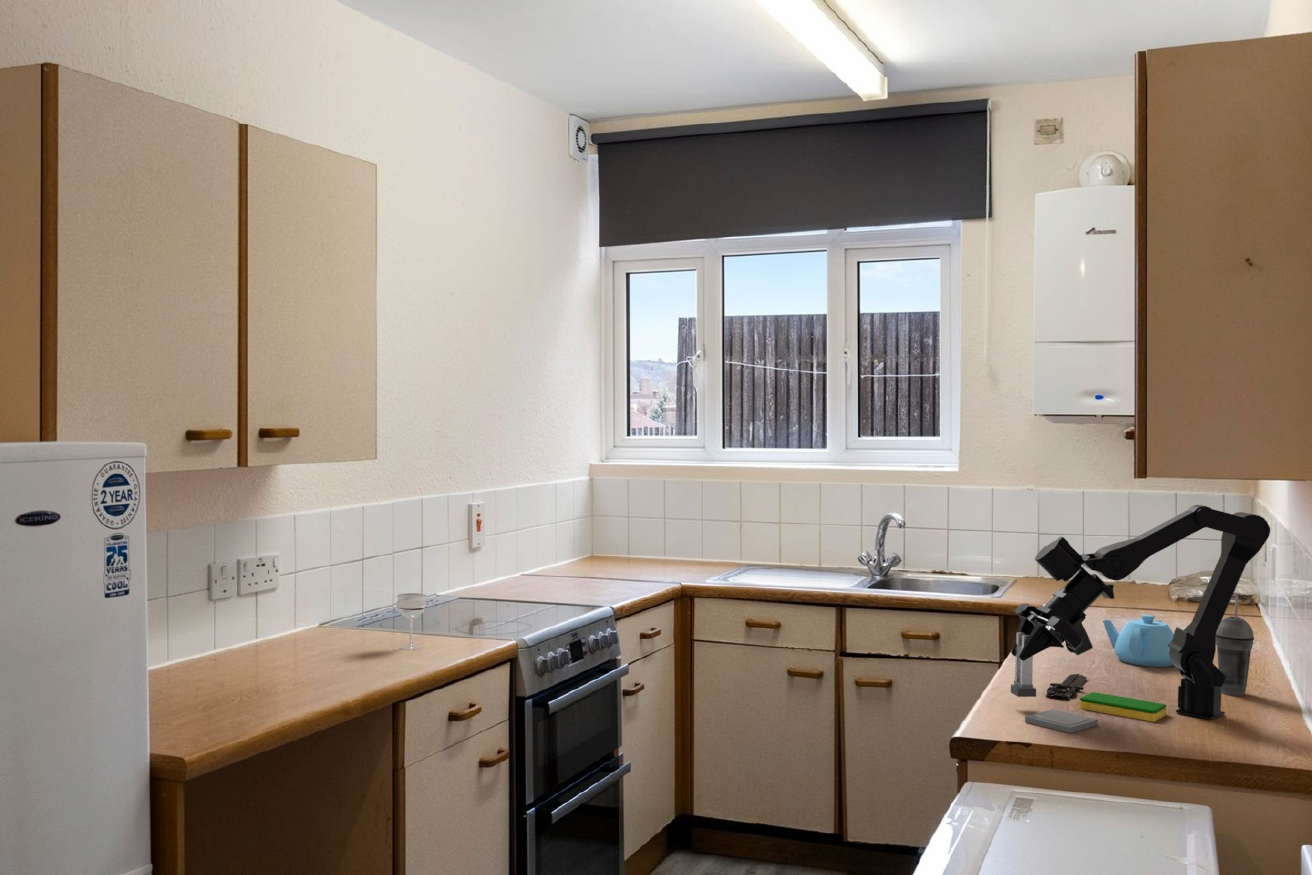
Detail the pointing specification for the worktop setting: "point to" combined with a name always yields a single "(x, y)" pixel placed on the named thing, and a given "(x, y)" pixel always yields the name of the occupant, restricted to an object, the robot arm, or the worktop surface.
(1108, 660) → the worktop surface
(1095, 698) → the dish sponge
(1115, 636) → the teapot
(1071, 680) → the dark piece
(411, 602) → the wineglass
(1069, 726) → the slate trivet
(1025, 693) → the grey stepped bar
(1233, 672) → the beverage cup
